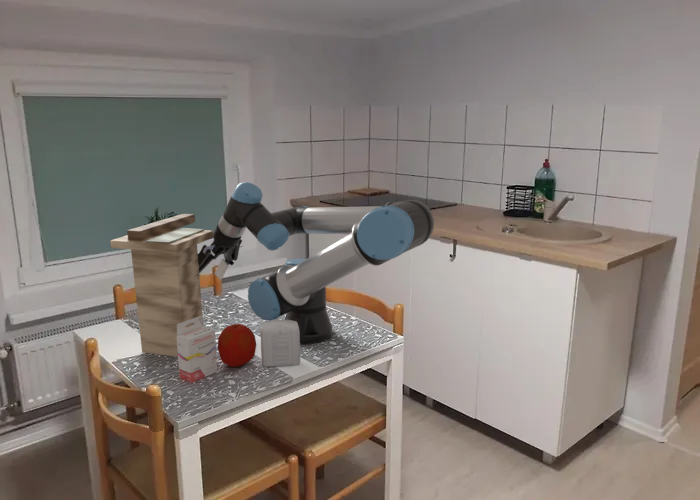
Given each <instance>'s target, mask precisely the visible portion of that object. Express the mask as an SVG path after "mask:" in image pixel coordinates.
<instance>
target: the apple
mask: <svg viewBox="0 0 700 500" xmlns="http://www.w3.org/2000/svg"><path fill="white" fill-rule="evenodd" d="M256 349H257V340H256V335H255V334H254V332H253V331H252V330H251V328H250V327H249V326H246V325H244V324H241V323H237V324H236V323H234V324H230V325H227V326H226V327H224V329H222V330H221V332H220V334H219V336H218V338H217V351H218V353H219V357H220V360H221V362H222V363H223V364H225V366H228V367H229V368H239V367H243V366H245V365H246V364H248V363H249V362H251V361H252V360H253V359H254V358H255V354H256Z"/></svg>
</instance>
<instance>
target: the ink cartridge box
mask: <svg viewBox="0 0 700 500" xmlns="http://www.w3.org/2000/svg"><path fill="white" fill-rule="evenodd" d="M203 317H204V316H199V317H196V318H193V319H190V320H187V321H185V322H182V323H179V324H177V350H178V357H177V360H178V361H177V362H178V370H179V371H178V372H179V379H181V380H183V381H185V382H188V383H190V384H193V383H195V382H198V381H200V380H202V379H204V378H206V377H208V376H211V375H213V374H215V373H217V372H218V363H217V344H216V330H215V329H214V328H210V327H208V326H204V318H203ZM189 323H194V325H192V326H189V327H186V325H188V324H189Z"/></svg>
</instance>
